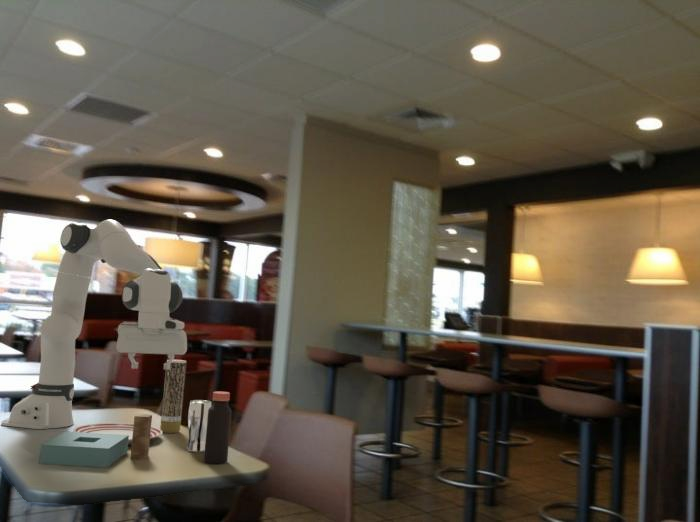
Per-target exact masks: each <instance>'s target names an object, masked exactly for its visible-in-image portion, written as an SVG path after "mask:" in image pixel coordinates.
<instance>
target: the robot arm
mask: <svg viewBox="0 0 700 522" xmlns="http://www.w3.org/2000/svg"><path fill="white" fill-rule="evenodd" d="M60 245H61V247H62V249H63V251H65V252H64V254H63V255H62V258H61V261H60V264H59V268H58V271H57V275H56V277H55V278H56V279H55V284H54V288H53V292H52V304H51V312H50V315H48V316H47V317H46V318H45V319H44V320H43V322H42V324H41V327H40V366H39V375H38V382H37V383H34V384H33V385H31V386H30V390H31V394H29V395H27V396H26V397H25V398H23V399H21V400H19V401H18V402H17V403H15V404H14V405H13V407H12V408H11V411H10V413H9V418H5V419H3V420H2V421H1V426H6V427H15V428H25V429H31V430H32V429H35V430H47V429H58V428H66V427H67V428H68V427H70V426H73V425H74V417H73V405H72V404H73V403H72V401H73V398H74V394H75V384H74V380H75V379H74V377H75V368H76V367H75V366H76V340H77V338H79V336H80V334H81V333H82V328H83V322H84V317H85V312H86V311H85V310H86V303H87V297H88V292H89V288H90V284H91V279H92V275H93V270H94V265H95V264H96V262H97V261H100V262H101V263H102V264H105V263H106V264H107V265H109V266H110V267H112V268H114V269H116V270H120V271H126V272H129V273H134V274H136V275H137V274H138V275H140V276H138V277H137V278H134V279H129V281H127V282H126V283H125V284H124V285H123V287H122V291H121V302H122V303H123V305H124V306H125V308H127V309H128V310H132V311H138V320H137V321H123V322H121V323H120V324H119V325H118V326H117V334H118V337H117V341H116V348H115V349H116V351H117V352H118V353H123V354H127V357H128V359H129V361H130V363H131V369H133V370H134V369H138V368H139V362H137V361H136V360H135V358H134V357H135V356H136V354H145V355H147V354H149V355H150V354H151V355H167V359H168V360H169V361H168V362H167V361H166V362H165V363H163V371H164V370H165V371H166V370H169V369H170V363H171V362H172V361H173V360H175V355H179V356H181V355H182V356H183V355H185V354H186V352H187V351H188V337H187V333H186V331H185V330H183V329H185V325H186V324H185V322H184V321H181V320H179V319H176V318H172V317H170V313H171V314H172V313H173V312H175V310H177V309H178V308H179V307H180V305H181V304H182V302H183V298H184V297H183V292H182V291H183V290H182V288H181V287H180V285H179V284H178V283H177V282H176V281H175V280H173V279H171V275H170V273H169V272H168V271H167V270H165V269H163V268H162V267H161V265H160V264H159V263H158V262H157V260H155V259H154V258H153V256H151V254H149V253H148V252H146V251H145V250H144V249H142V248H141V247H140V246H139V245H138V244H137V243H136V242H135V240H133V239H132V236H131V234H130V233H129V232H128V231H127V229H126V228H125V227H124V226H123V225H122V224H121V223H120V222H119V221H117V220H115V219H105V220H103V221H101V222H99V223H98V224H97V226H93V225H89V224H88V225H87V224H84V223H81V222H80V223H79V222H73V223H69V224H67V225H65V227H64V228H63V230H62V232H61V235H60Z"/></svg>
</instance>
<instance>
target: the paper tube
mask: <svg viewBox="0 0 700 522" xmlns="http://www.w3.org/2000/svg"><path fill="white" fill-rule="evenodd" d="M168 361H169V359H167V360H166V363H167V362H168ZM186 370H187V360H185V359H184V360H183V359H173V361H172V362H171V363H170V369H169V370H165V377H164V384H163V385H164V386H163V395H162V396H163V397H162V404H161V405H162V407H161V417H160V428H159V429H160V430H162V432H163V433H162V434H164V433H165V434H177V433H179V432H181V423H182V415H183V414H182V412H183V405H184V404H183V401H184V391H185V390H184V389H185V381H186Z"/></svg>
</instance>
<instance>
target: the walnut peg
mask: <svg viewBox="0 0 700 522" xmlns="http://www.w3.org/2000/svg"><path fill="white" fill-rule="evenodd" d="M152 420H153V414H144V413H137V414H136V415H134V419H133V424H134V427H133V437H132V445H131V449H130V459H131V460H133V459H134V460H145V459H147V458H148V457H149V453H150V452H149V451H150V432H151V427H152Z"/></svg>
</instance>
